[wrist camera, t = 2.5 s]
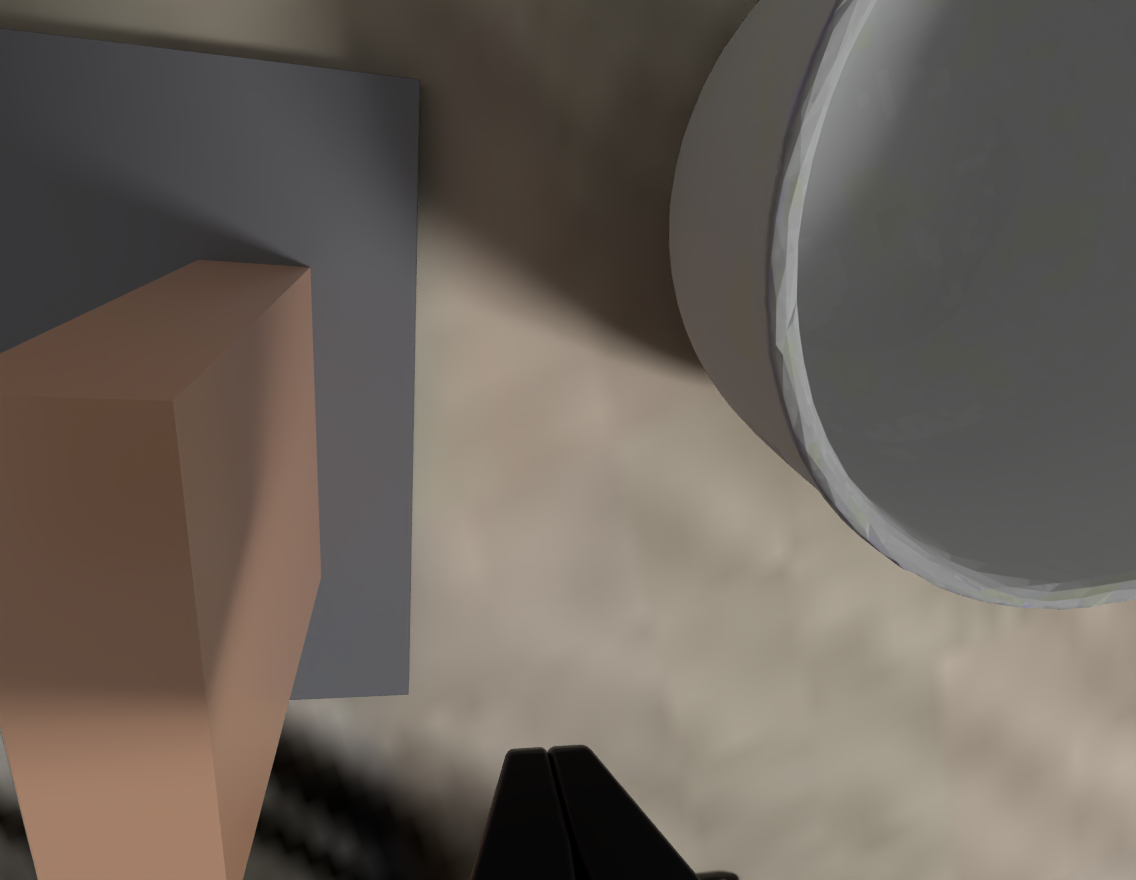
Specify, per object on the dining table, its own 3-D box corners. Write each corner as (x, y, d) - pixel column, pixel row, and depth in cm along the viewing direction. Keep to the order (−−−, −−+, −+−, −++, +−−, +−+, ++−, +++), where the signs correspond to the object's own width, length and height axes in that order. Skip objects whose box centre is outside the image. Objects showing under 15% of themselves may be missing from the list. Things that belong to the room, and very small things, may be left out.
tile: (310, 267, 14) (173, 401, 6) (321, 576, 16) (230, 923, 9) (186, 258, 13) (-110, 391, 6) (217, 578, 16) (35, 944, 9)
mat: (419, 82, 13) (419, 78, 13) (408, 678, 18) (408, 694, 18) (-712, -56, 10) (-776, -67, 10) (-351, 709, 15) (-380, 730, 15)
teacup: (620, 446, 17) (760, 667, 10) (610, -100, 13) (843, -427, 6) (1123, 389, 19) (1550, 537, 12) (1255, -99, 15) (2043, -337, 8)
